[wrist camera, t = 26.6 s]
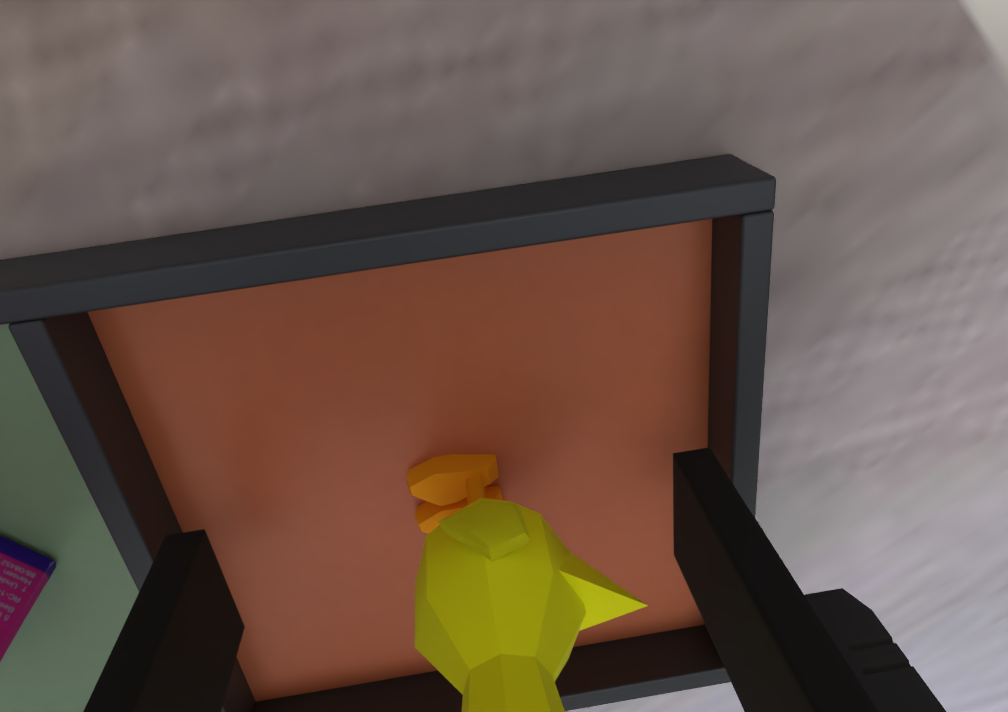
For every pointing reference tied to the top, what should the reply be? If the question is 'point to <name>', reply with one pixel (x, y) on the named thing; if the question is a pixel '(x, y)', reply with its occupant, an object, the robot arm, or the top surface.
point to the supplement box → (19, 586)
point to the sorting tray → (382, 421)
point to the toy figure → (499, 589)
